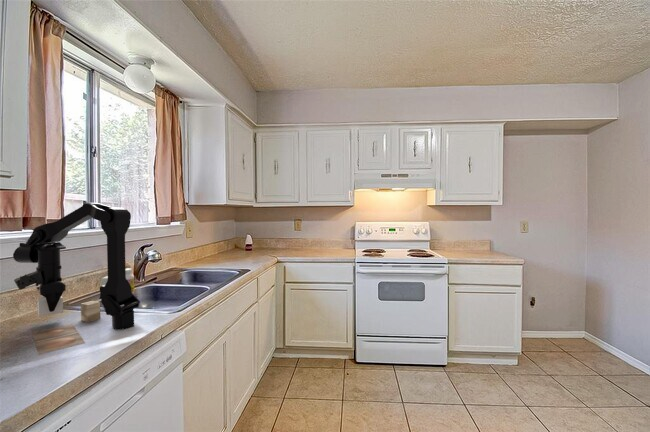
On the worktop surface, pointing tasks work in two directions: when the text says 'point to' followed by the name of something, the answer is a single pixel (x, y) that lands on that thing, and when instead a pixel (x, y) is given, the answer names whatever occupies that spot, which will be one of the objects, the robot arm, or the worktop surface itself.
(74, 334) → the board
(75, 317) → the worktop surface
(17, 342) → the worktop surface
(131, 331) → the worktop surface
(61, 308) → the block
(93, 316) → the tan rectangular block
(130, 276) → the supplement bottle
